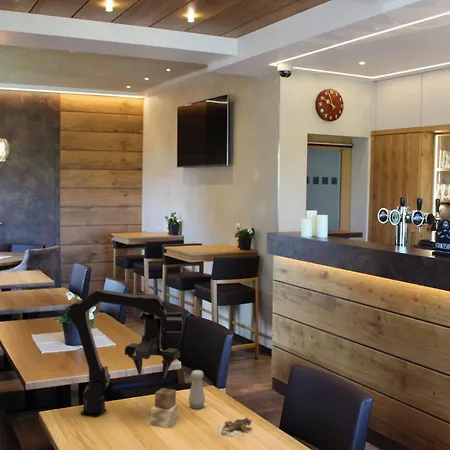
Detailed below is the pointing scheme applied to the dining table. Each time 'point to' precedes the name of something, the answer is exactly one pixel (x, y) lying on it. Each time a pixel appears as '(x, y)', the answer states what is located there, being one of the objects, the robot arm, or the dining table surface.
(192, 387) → the salt shaker
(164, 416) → the beech slab upper
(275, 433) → the dining table surface
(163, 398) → the walnut cube
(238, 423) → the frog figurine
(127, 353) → the robot arm
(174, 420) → the beech slab lower
